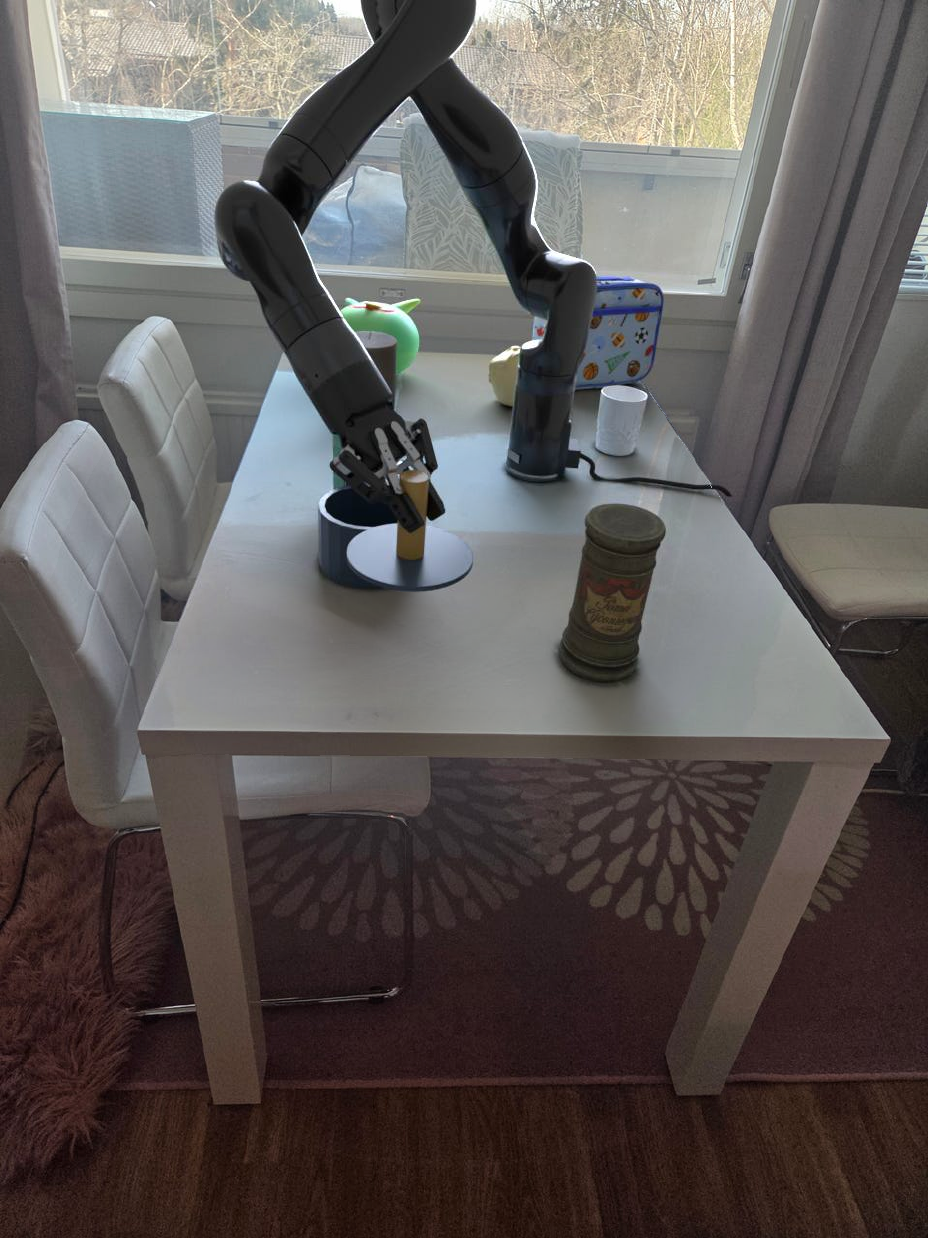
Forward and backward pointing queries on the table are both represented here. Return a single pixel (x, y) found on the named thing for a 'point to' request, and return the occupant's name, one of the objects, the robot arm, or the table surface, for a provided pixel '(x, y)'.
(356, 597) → the table surface
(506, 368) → the sculpture
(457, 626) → the table surface
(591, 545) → the container
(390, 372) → the pillar candle
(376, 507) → the tin
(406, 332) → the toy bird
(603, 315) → the lunch box
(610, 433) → the white cup
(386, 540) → the lid
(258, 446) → the table surface
